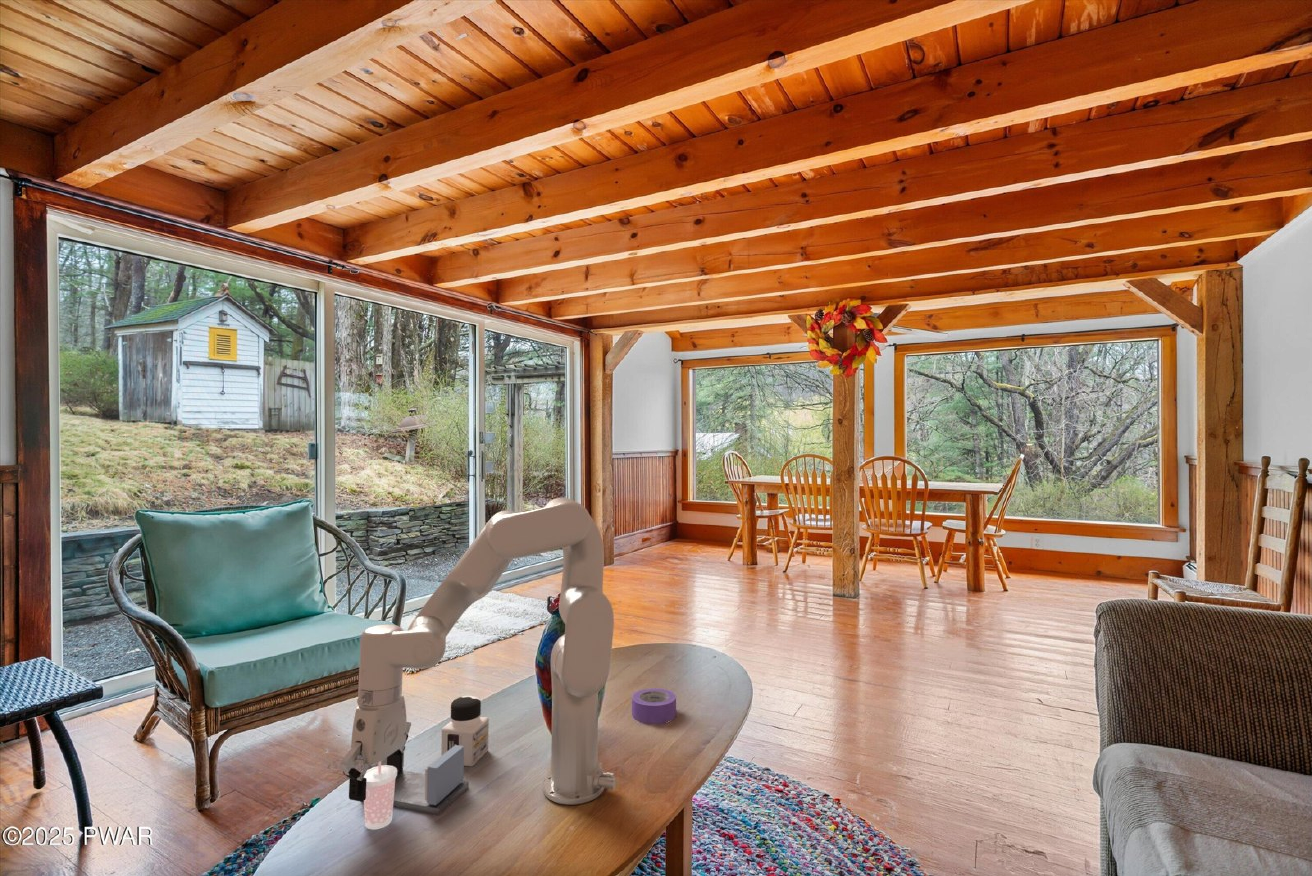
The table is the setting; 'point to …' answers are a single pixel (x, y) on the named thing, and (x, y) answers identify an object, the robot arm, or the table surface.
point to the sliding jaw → (444, 775)
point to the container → (466, 729)
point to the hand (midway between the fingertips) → (376, 786)
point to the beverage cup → (379, 796)
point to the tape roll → (653, 706)
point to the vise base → (419, 792)
